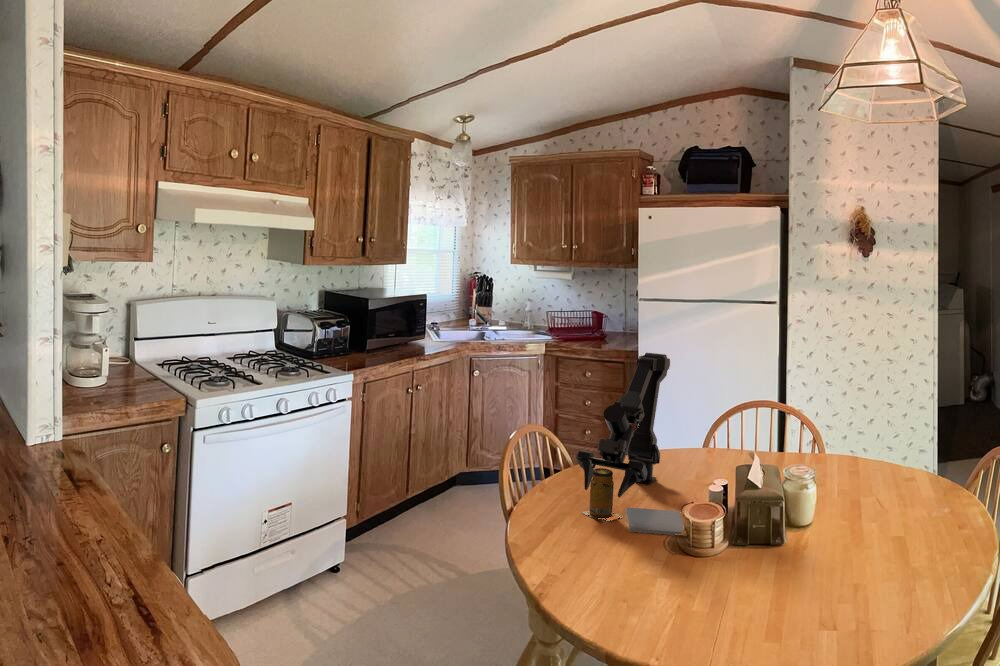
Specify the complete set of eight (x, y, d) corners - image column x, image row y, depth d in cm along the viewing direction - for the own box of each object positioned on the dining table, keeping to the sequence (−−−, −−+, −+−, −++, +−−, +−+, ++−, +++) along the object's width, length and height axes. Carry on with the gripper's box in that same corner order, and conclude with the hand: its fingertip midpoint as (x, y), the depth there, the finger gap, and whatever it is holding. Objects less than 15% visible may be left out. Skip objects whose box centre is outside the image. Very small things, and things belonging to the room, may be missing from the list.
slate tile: (625, 510, 183) (625, 507, 183) (678, 514, 182) (678, 510, 182) (629, 532, 170) (630, 528, 170) (687, 536, 168) (687, 532, 168)
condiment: (600, 507, 186) (602, 465, 184) (624, 517, 179) (626, 473, 178) (581, 513, 181) (583, 470, 179) (605, 524, 174) (607, 479, 173)
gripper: (580, 421, 185) (561, 471, 177) (646, 432, 176) (629, 485, 168) (590, 442, 193) (572, 491, 185) (654, 454, 184) (638, 506, 175)
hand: (601, 493), depth 178 cm, fingers open, 9 cm apart
